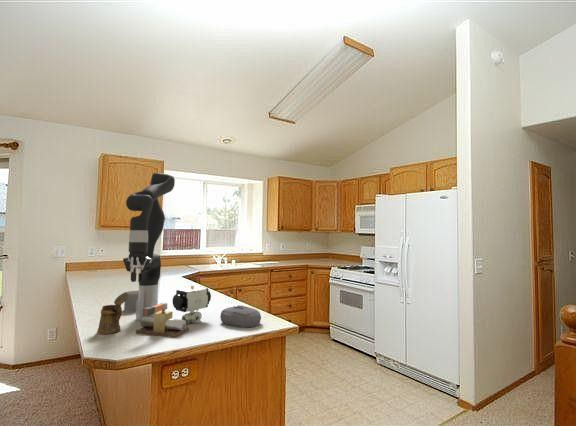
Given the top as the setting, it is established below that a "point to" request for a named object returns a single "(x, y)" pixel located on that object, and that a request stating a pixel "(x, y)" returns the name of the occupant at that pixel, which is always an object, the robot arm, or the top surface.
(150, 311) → the valve lever
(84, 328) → the top surface
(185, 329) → the stand
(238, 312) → the small grey backpack
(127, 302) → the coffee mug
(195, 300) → the ball valve
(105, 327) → the wooden mug
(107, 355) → the top surface
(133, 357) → the top surface
